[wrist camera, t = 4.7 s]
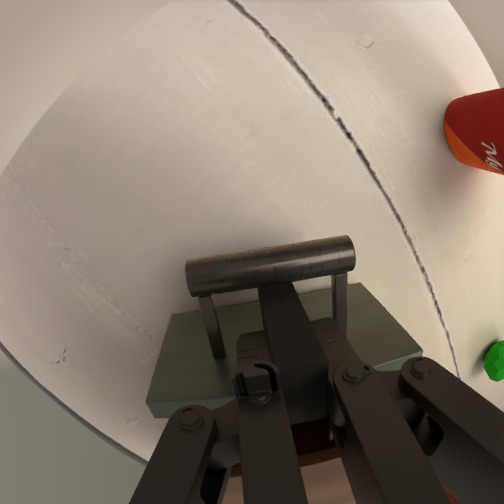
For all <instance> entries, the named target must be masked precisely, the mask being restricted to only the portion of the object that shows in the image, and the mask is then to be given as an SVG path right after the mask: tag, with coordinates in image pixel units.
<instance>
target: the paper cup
mask: <svg viewBox="0 0 504 504" xmlns="http://www.w3.org/2000/svg"><path fill="white" fill-rule="evenodd" d="M444 126H445V134H446V138H447V142H448V144H449V147H450V149H451V151H452V153H453V154H454V156H455V157H456V158H457V159H458V160H459V161H460V162H462V163H464V164H466V165H469V166H472V167H476V168H479V169H483V170H487V171H490V172H494V173H498V174H501V175H504V88H500V89H495V90H490V91H485V92H480V93H476V94H472V95H468V96H464V97H460V98H457V99H455V100H453V101H452V102H451V103H450V104H449V106H448V108H447V110H446V113H445V121H444Z"/></svg>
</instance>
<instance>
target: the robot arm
mask: <svg viewBox="0 0 504 504" xmlns="http://www.w3.org/2000/svg"><path fill="white" fill-rule="evenodd" d="M258 295H259V302H260V308H261V315H262V322H263V328H264V330H261V331H255V332H248V333H242V334H240V336H239V338H238V340H237V341H236V350H237V369H236V370H235V371H234V372H233V375H232V378H231V380H232V383H233V387H234V391H235V394H236V396H235V397H234V398H233V399H232V400H231V401H230V402H229V403H227V404H225V405H223V406H221V407H218V408H215V409H213V410H209V409H208V408H207V407H205V406H201V405H187V406H184V407H181V408H180V409H178V410H177V411H175V412H174V413H173V414H172V416H171V417H170V419H169V421H168V423H167V425H166V427H165V429H164V431H163V433H162V435H161V437H160V440H159V442H158V444H157V446H156V448H155V450H154V452H153V454H152V456H151V458H150V460H149V463H148V465H147V467H146V469H145V471H144V473H143V475H142V477H141V479H140V481H139V484H138V486H137V488H136V490H135V492H134V494H133V496H132V498H131V500H130V502H129V504H222V502H223V498H224V495H225V491H226V487H227V483H228V480H229V476H230V472H231V468H232V465H235V464H237V463H240V462H241V473H242V486H243V499H244V504H308V500H307V495H306V491H305V487H304V482H303V478H302V474H301V470H300V465H299V461H298V457H297V452H296V448H295V444H294V440H293V435H292V431H291V427H290V425H292V424H297V423H302V422H307V421H311V420H316V419H320V418H324V417H327V410H328V412H329V415H330V418H331V421H330V433H329V438H330V440H333V437H334V440H335V443H336V446H337V449H338V452H339V455H340V457H341V460H342V463H343V466H344V469H345V472H346V475H347V478H348V481H349V484H350V487H351V490H352V493H353V496H354V499H355V502H356V504H451V502H450V500H449V498H448V497H447V495H446V493H445V491H444V489H443V487H442V485H441V483H442V484H443V485H444V486H445V487H446V488H447V489H448V490H449V491H450V492H451V493H452V494H453V495H454V496H455V497H456V498H457V499H458V500H459V501H460V502H461V503H462V504H504V412H502V411H501V410H500V409H498V408H497V407H496V406H494V405H493V404H492V403H490V402H489V401H488V400H487V399H485V398H484V397H483V396H481V395H480V394H479V393H477V392H476V391H475V390H473V389H472V388H471V387H469V386H468V385H467V384H465V383H464V382H463V381H461V380H460V379H458V378H457V377H456V376H454V375H453V374H452V373H450V372H449V371H448V370H446V369H445V368H444V367H442V366H441V365H440V364H438V363H437V362H435V361H434V360H432V359H430V358H427V357H422V356H419V357H413V358H410V359H407V360H406V361H405V362H404V363H403V364H402V367H401V370H393V371H378V370H375V369H374V368H373V367H372V366H371V365H370V364H368V363H366V362H363V361H361V360H360V359H359V357H358V355H357V354H356V352H355V350H354V349H353V347H352V345H351V344H350V342H349V340H348V339H347V338H346V335H345V334H344V332H343V331H342V329H341V327H340V326H339V324H338V322H336V321H334V320H333V319H331V318H330V317H326V318H321V319H316V320H311V321H310V320H309V318H308V316H307V314H306V311H305V309H304V307H303V305H302V303H301V301H300V299H299V297H298V295H297V293H296V290H295V288H294V286H293V284H292V282H288V283H282V284H277V285H271V286H264V287H258ZM440 482H441V483H440Z"/></svg>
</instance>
